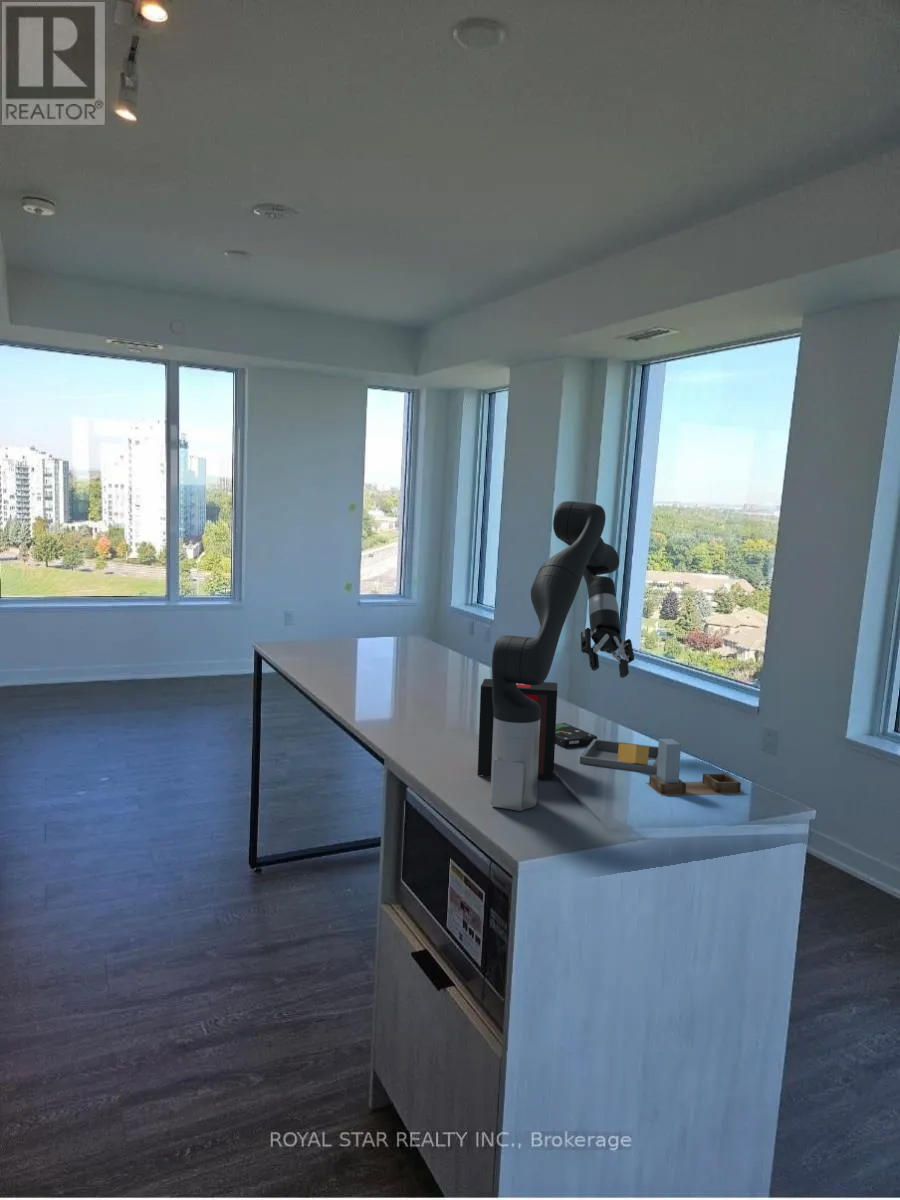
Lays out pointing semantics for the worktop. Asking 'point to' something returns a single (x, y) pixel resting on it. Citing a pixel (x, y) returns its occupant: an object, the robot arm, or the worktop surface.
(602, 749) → the tray
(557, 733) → the disk drive
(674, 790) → the block
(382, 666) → the worktop surface
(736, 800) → the worktop surface
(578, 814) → the worktop surface
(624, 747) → the yellow rectangular block
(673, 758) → the block
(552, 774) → the cleaning product box
